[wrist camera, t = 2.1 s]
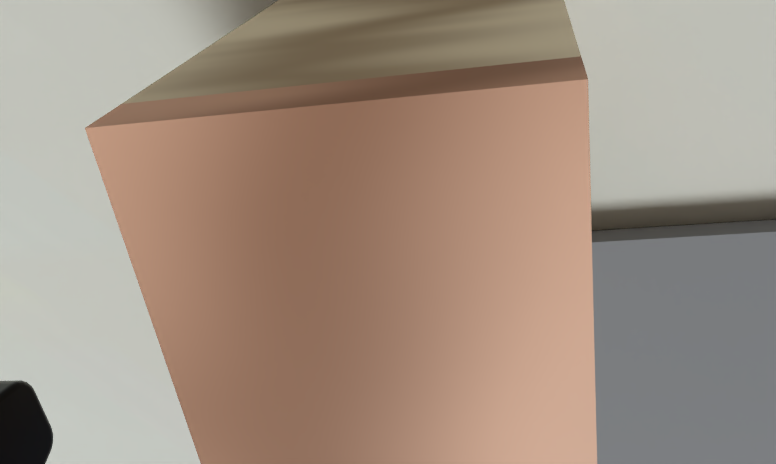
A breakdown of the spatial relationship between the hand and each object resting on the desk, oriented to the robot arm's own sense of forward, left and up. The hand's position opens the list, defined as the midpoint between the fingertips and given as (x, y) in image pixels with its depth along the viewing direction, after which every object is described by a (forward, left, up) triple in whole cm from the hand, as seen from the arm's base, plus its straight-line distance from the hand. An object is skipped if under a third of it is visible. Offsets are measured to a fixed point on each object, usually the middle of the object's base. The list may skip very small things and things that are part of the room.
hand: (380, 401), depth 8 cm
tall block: (0, -1, -8) cm, 8 cm away
